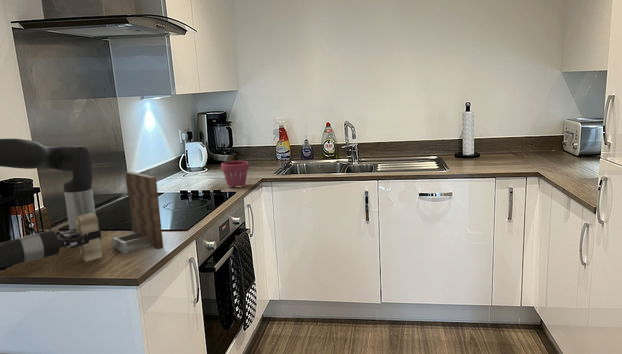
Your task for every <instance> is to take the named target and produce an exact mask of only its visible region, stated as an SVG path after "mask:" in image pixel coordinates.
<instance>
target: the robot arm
mask: <svg viewBox="0 0 622 354" xmlns="http://www.w3.org/2000/svg"><path fill="white" fill-rule="evenodd" d="M0 167H2V168H12V169H24V170H25V169H27V170H28V169H29V170H32V169H35V170H36V169H40V168H46V169H52V170H57V171H61V172H66V173H67V172H71V173H72V178H71V179H70V180H69V181H66V182H64V183H63V185H62V187H63V192H64V193H63V195H64V200H65V207H66V213H67V221H68V228H69V229H65V230H62V231H60V230H59V231H56V232H55V230H46V231H42V232H37V233H34V234H30V235H29V234H28V235H25V236H22V237H19V238H15V239H10V240H5V241H2V242H0V268H3V267H10V266H15V265H17V264H22V263H26V262H32V261H33V262H34V261H38V260H40V259H41V260H42V259H45V258H48V257H49V258H50V257H53V256H57V255H59V253H60V249H61V248H70V249H76V248H79V246H81V245H84V244H88V243H89V240H92V239H96V238H100V237H101V238H102V232H101V230H100V231H99V230H98V231H94V232H89V233H84V234H80V233H77V226H76V219H75V216H80V215H85V214H90V213H93V214H95V215H97V214H96V208H95V201H94V193H93V185H92V184H93V179H94V177H93V176H94V175H93V164H92V156H91V153H90V150H89V149H88V148H87V147H85V146H83V145H63V146H48V145H47V146H46V145H43V144H42V143H40V142H37V141H35V140H29V139H24V138H23V139H22V138H0ZM83 238H84V239H85V240H82V239H83Z"/></svg>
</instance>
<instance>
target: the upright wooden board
mask: <svg viewBox="0 0 622 354" xmlns="http://www.w3.org/2000/svg"><path fill="white" fill-rule="evenodd" d="M125 179H126V187H127V188H126V189H127V195H128V205H129V212H130V221H131V230H132V232H131V233H128V234H124V235H123V234H122V235H120V236H116V237H112V246H113V249H114V250H117V251H119V252H121V253H122V254H125V255H126V254H128V253H131V252H136V251H139V250H143V249H146V248H149V247H152V248H154V249H157V250H159V249H163V248H164V239H163V233H162V223H161V221H162V220H161V211H160V204H159V194H158V184H157V183H158V182H157V177H156V176H153V175H148V174H146V173H145V174H144V173H139V172H136V171H126V172H125Z"/></svg>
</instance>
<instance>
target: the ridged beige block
mask: <svg viewBox="0 0 622 354" xmlns="http://www.w3.org/2000/svg"><path fill="white" fill-rule="evenodd" d="M95 214H96V213H95ZM95 214H93V213H90V214H85V215H80V216H75V219H76V226H77V233H80V234H84V233H89V232H94V231H98V230H99V231H101V229H100V228H101V227H100V221H99V218H98V217H97V214H96V215H95ZM82 240H85V239H84V238H83V239H82ZM101 241H102V236H101V237H100V238H96V239H92V240H89V243H88V244H84V245H81V246H78V248H79V253H80V259H81V260H82V261H83V262H85V263H88V262H90V261H94V260H98V259H102V258H103V254H102V247H101Z"/></svg>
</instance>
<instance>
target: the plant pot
mask: <svg viewBox="0 0 622 354" xmlns="http://www.w3.org/2000/svg"><path fill="white" fill-rule="evenodd" d="M220 166H221V171H222V172H223V175H224V178H225V181H226V185H227V187H228V186H231V187H236V186H243V185H245V186H246V181H247V176H248V171H249V170H250V163H249V162H248V161H247V160H231V161H223V162H221V165H220Z"/></svg>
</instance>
